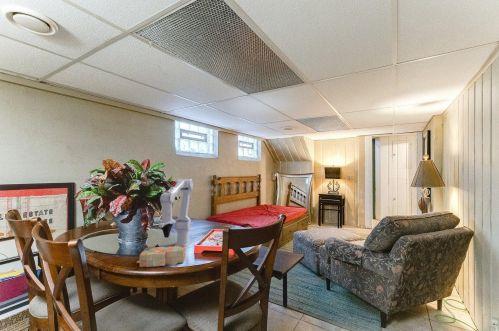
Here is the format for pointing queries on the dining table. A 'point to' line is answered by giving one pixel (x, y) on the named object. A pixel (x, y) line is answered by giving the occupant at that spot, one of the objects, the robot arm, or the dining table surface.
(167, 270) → the dining table surface
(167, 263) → the mat
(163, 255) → the stack of blocks
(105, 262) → the dining table surface
